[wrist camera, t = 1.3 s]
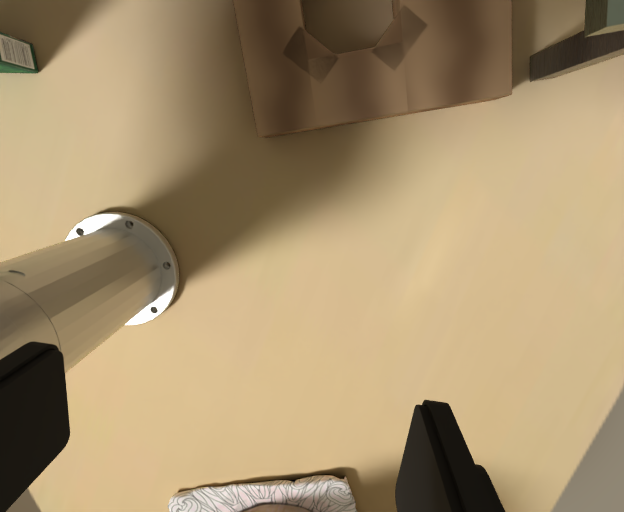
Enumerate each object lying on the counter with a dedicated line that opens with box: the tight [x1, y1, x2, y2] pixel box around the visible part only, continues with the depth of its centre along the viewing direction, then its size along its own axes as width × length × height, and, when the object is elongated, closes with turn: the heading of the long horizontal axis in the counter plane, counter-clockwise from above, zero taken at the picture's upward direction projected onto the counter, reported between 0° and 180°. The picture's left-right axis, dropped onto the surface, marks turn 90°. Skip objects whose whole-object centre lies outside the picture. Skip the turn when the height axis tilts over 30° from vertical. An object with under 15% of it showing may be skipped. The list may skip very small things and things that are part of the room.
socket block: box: [233, 0, 512, 138], centre depth 30 cm, size 21×18×4 cm
